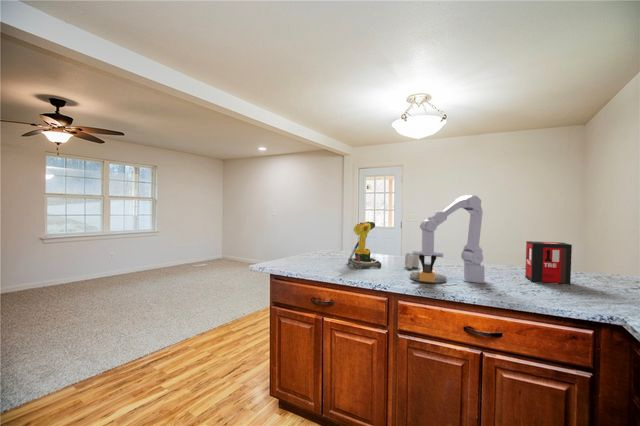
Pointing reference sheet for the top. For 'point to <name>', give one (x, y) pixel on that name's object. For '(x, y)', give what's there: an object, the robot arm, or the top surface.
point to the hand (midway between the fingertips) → (427, 270)
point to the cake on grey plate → (438, 279)
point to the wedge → (427, 267)
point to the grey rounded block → (411, 261)
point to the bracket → (424, 275)
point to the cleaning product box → (548, 262)
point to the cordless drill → (363, 248)
